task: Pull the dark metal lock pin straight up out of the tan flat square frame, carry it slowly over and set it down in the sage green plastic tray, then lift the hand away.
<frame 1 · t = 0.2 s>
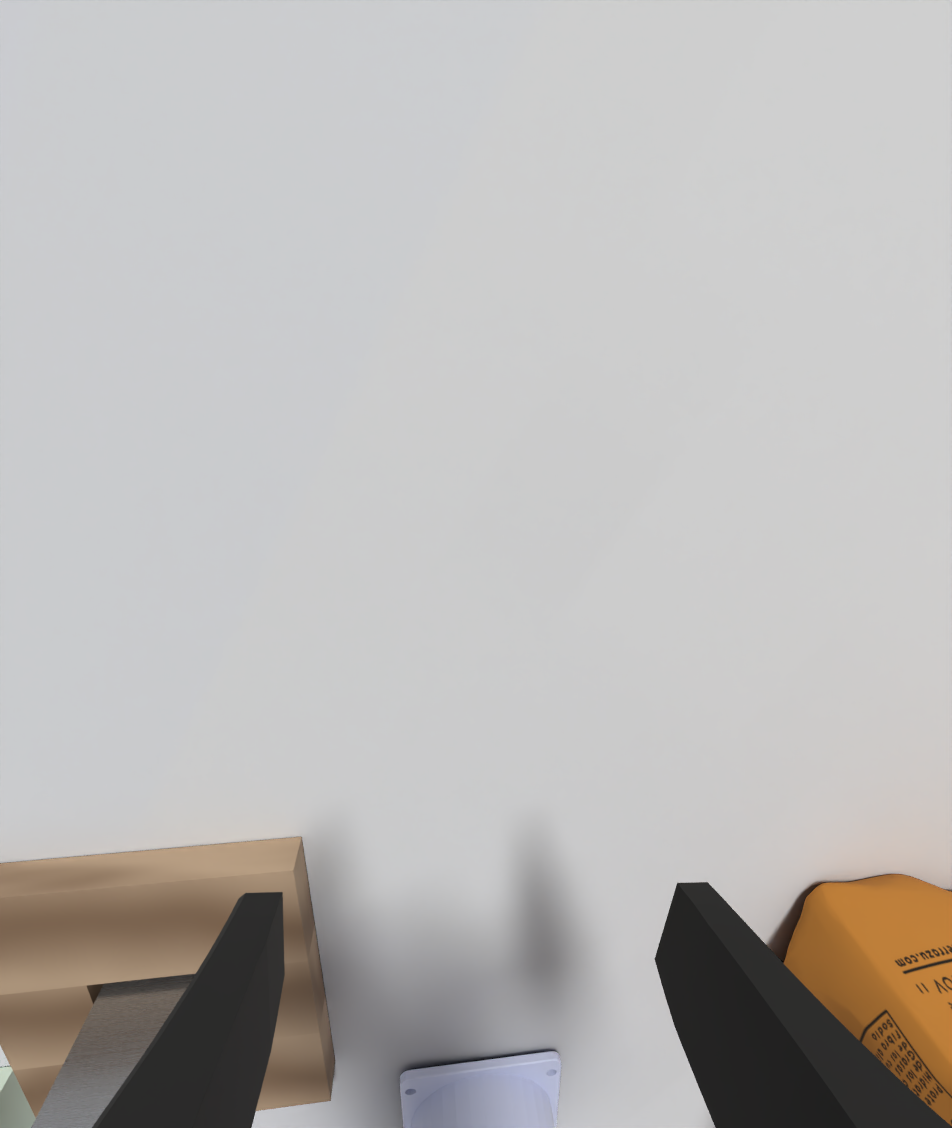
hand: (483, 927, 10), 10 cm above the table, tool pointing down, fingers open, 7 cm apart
tan flat square frame: (174, 976, 23), on the table
coffee package: (872, 935, 27), on the table
lock pin: (135, 1076, 20), in the tan flat square frame
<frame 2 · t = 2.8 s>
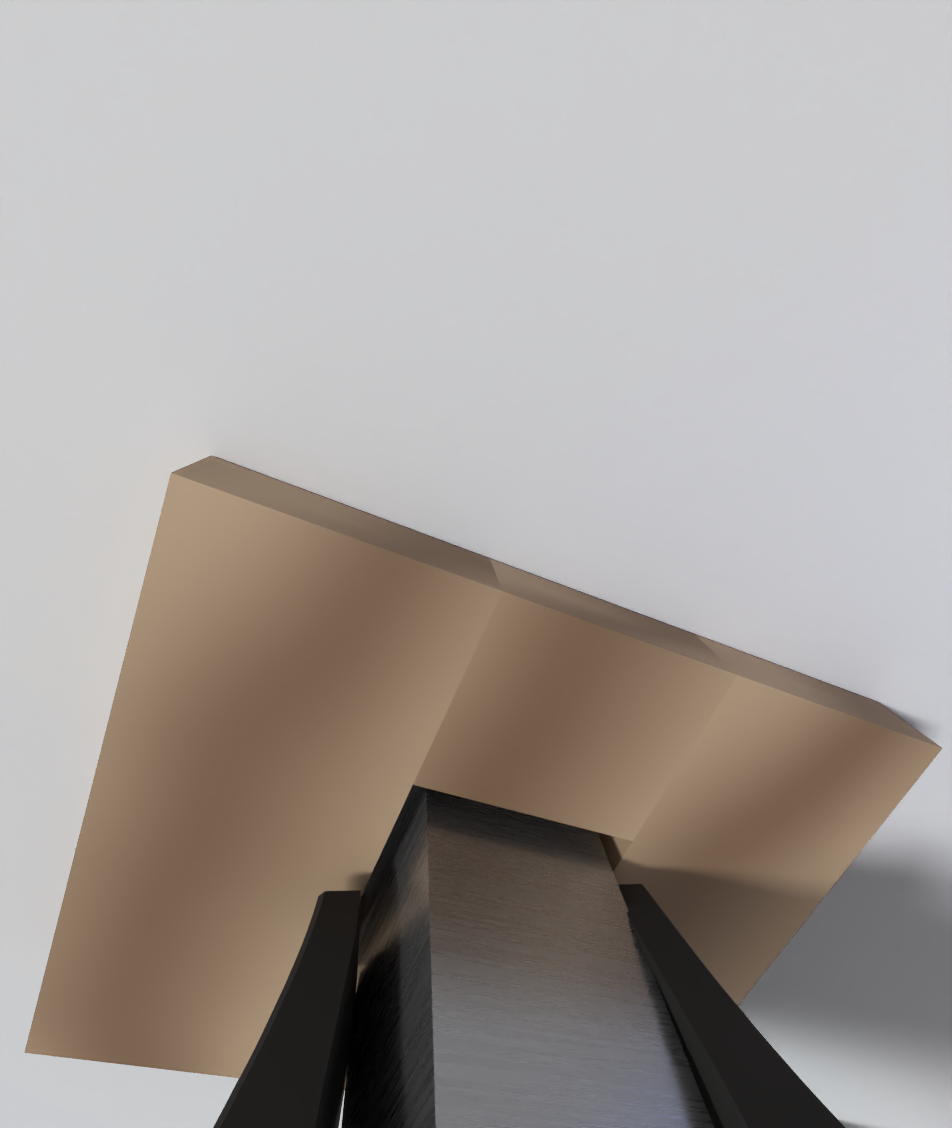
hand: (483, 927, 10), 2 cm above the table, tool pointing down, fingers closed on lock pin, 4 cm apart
tan flat square frame: (472, 837, 12), on the table
lock pin: (495, 1016, 8), in the tan flat square frame, touching gripper
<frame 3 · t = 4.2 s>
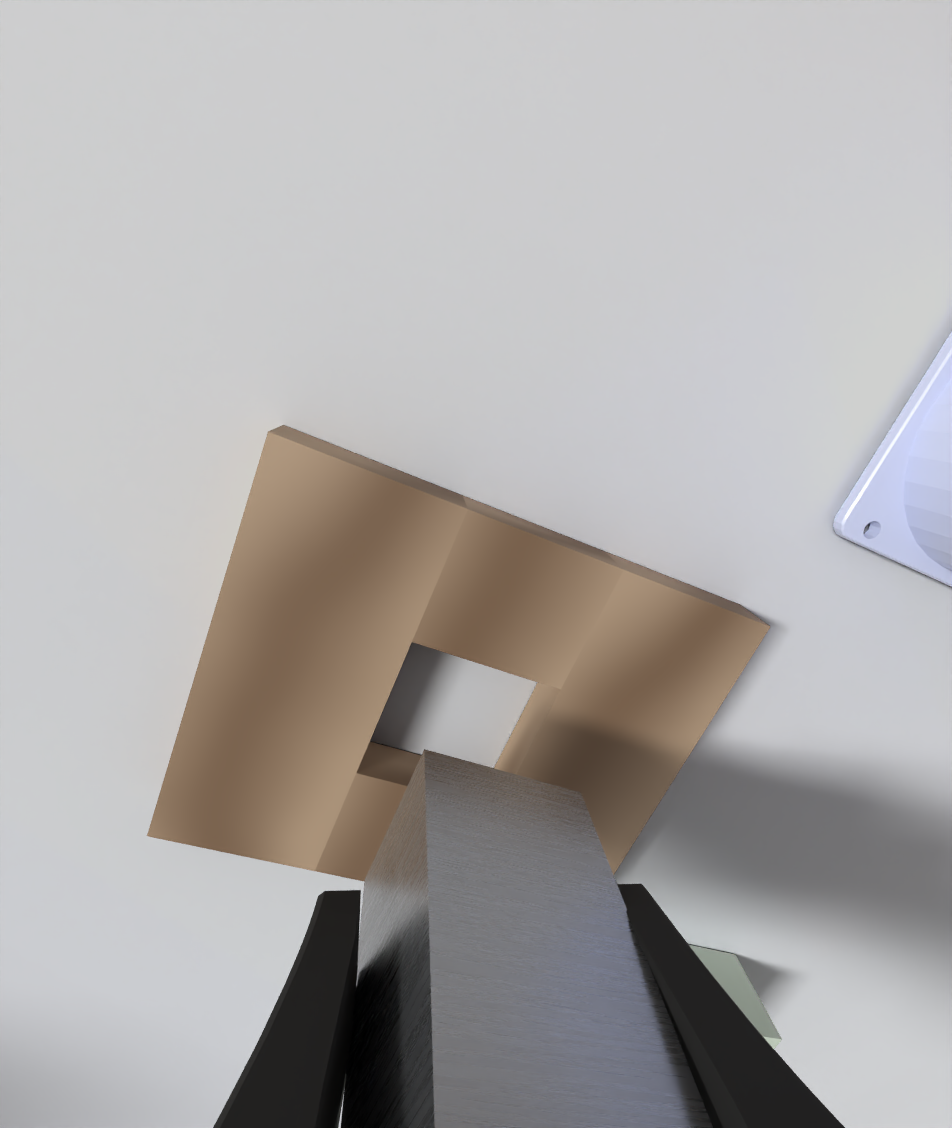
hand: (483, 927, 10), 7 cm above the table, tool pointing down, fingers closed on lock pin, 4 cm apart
tan flat square frame: (454, 700, 17), on the table
tray: (558, 1022, 22), on the table
lock pin: (494, 1016, 8), point 9 cm above the table, touching gripper
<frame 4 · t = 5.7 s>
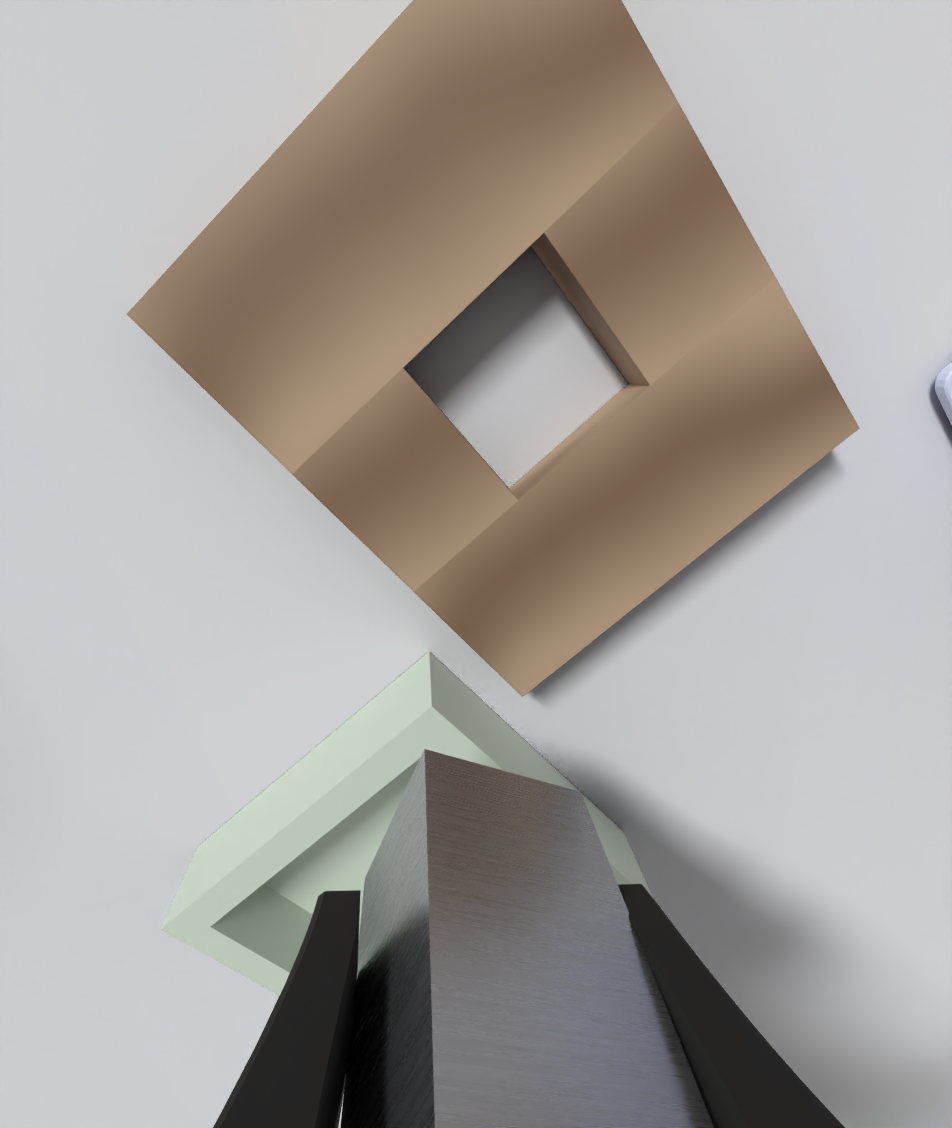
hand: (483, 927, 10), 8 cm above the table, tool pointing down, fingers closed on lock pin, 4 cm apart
tan flat square frame: (519, 376, 15), on the table
tray: (421, 838, 20), on the table
lock pin: (494, 1016, 8), point 10 cm above the table, touching gripper
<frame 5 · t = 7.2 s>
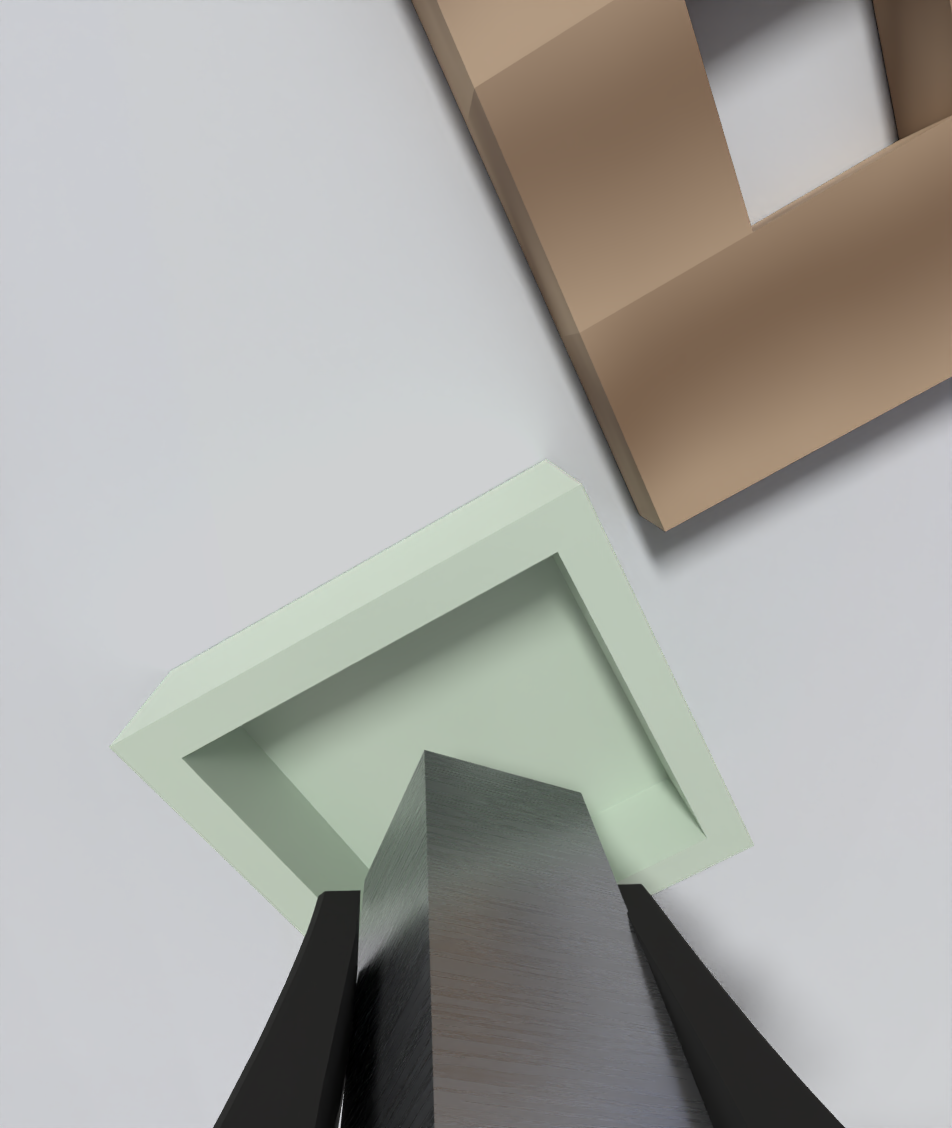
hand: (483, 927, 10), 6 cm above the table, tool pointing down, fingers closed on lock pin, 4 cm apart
tan flat square frame: (776, 81, 11), on the table
tray: (459, 723, 15), on the table
lock pin: (494, 1017, 8), point 8 cm above the table, touching gripper
when the fingers open (4 cm above the table, at t = 8.5 s): lock pin stays where it is, resting on tray.
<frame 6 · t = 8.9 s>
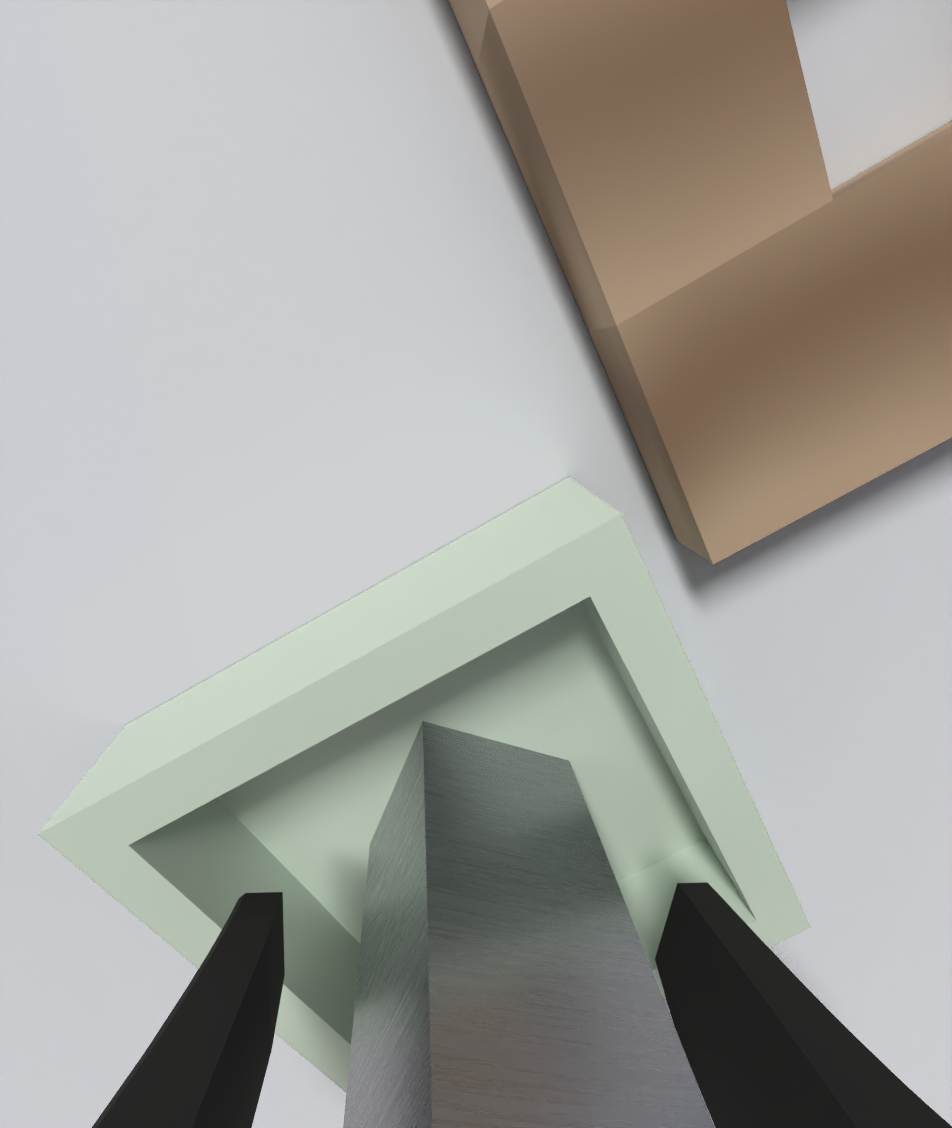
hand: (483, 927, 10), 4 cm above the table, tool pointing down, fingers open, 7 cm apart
tan flat square frame: (856, 17, 9), on the table
tray: (465, 778, 13), on the table
lock pin: (487, 954, 9), in the tray, point 4 cm above the table
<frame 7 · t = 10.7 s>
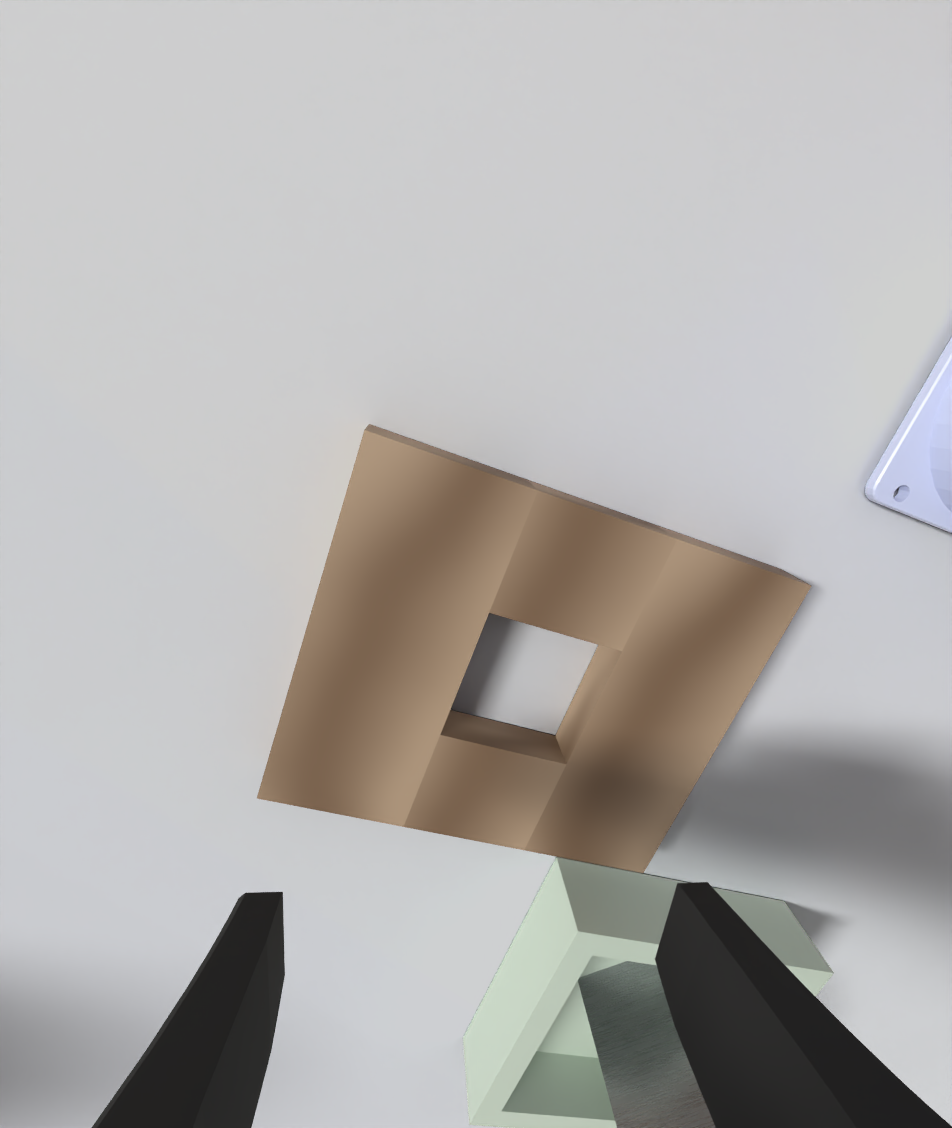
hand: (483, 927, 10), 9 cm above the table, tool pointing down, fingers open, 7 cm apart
tan flat square frame: (521, 668, 18), on the table
tray: (620, 970, 24), on the table
lock pin: (662, 1091, 20), in the tray, point 4 cm above the table
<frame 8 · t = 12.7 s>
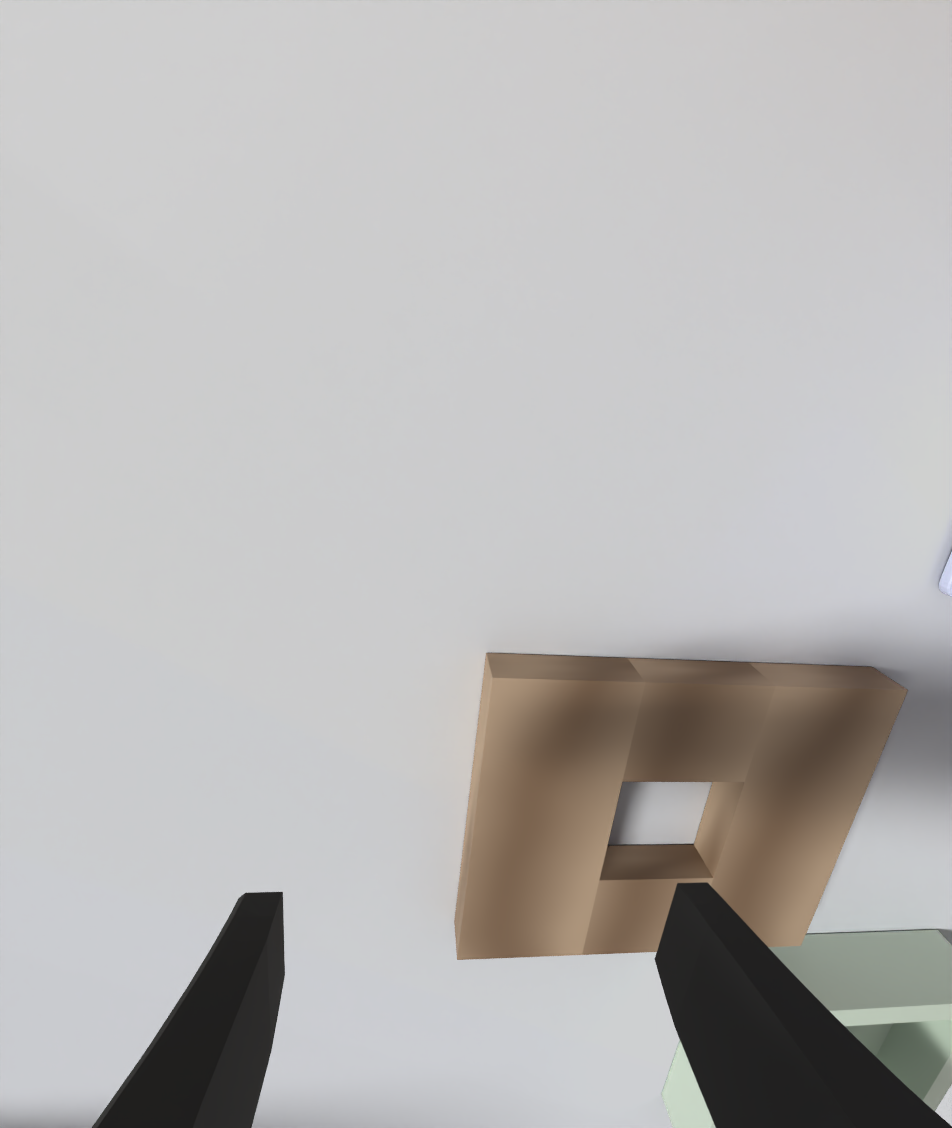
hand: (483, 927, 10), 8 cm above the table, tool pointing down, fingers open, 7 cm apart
tan flat square frame: (652, 800, 20), on the table
tray: (793, 1015, 26), on the table
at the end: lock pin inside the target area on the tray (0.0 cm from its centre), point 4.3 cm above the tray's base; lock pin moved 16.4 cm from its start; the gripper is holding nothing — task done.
